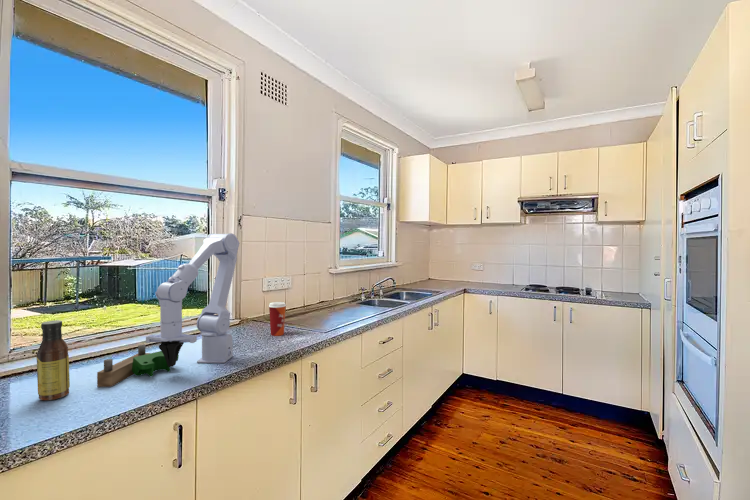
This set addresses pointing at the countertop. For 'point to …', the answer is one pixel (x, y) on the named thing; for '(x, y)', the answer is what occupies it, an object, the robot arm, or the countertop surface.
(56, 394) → the sauce bottle
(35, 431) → the countertop surface
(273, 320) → the paper cup
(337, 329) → the countertop surface
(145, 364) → the clamp
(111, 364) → the bar
